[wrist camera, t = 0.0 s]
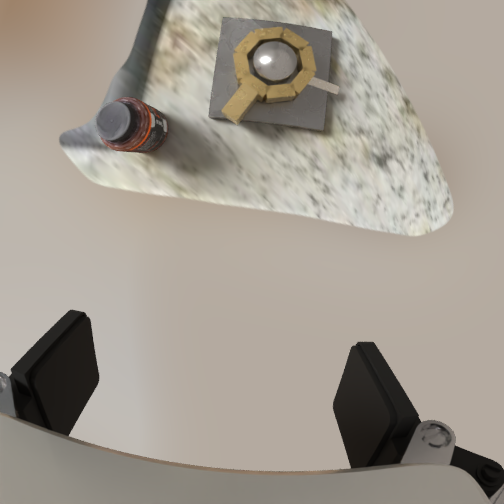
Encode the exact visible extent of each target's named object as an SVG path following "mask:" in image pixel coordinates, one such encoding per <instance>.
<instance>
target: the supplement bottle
mask: <svg viewBox="0 0 504 504" xmlns="http://www.w3.org/2000/svg"><path fill="white" fill-rule="evenodd" d="M95 128H96V131H97V133H98V135H99V136H100V137H101V140H102V141H103V142H104V144H105V145H106V146H107V147H109V148H111V149H113V150H116V151H123V152H138V153H147V152H152V151H154V150H156V149H157V148H159V147H160V146H161V145H162V144H163V142H164V141H165V139H166V137H167V134H168V123H167V120H166V118H165V117H164V115H163V114H162V113H161V112H160V111H158V110H157V109H155V108H153V107H151V106H149V105H147V104H146V103H144V102H142V101H140V100H138V99H135V98H132V97H123V98H119V99H116V100H115V101H113V102H110V103H107V104H106V105H104V106H103V107H102V108H101V109H100V110H99V112H98V114H97V116H96V119H95Z"/></svg>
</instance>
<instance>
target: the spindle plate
mask: <svg viewBox="0 0 504 504" xmlns="http://www.w3.org/2000/svg"><path fill="white" fill-rule="evenodd" d="M273 27H282V28H283V31H284V30H285V29H286V28H288V29H289V30H291V31H292V32H294V33H295V34H297V35H298V36H300V37H301V38H303V39H304V40H306V41H307V42H309V44H308V46H312V51H313V56H314V61H315V66H316V72H315V75H314V77H313V78H312V79H311V80H310V82H309V83H308V84H307V85H306V86H305V88H304V89H303V90H302V91H301V93H300V94H299V95H298V96H297V98H296V99H295V98H294V99H293V100H292V101H282V102H273V103H266V102H265V99H264V100H263V101H262V102H260V101H259V100H257V101H256V102H255V104H254V105H253V106H252V107H251V109H250V110H249V111H248V112H247V114H246V115H245V116H244V118H243V119H242V120H241V121H250V122H259V123H268V124H275V125H283V126H290V127H297V128H303V129H310V130H316V131H323V130H324V122H325V113H326V103H327V93H328V92H331V93H333V94H336V95H338V91H339V88H340V86H337V85H334V84H332V83H329V70H330V57H331V43H332V32H331V31H327V30H322V29H317V28H312V27H306V26H300V25H294V24H288V23H281V22H273V21H265V20H255V19H244V18H229V17H223V20H222V26H221V32H220V38H219V44H218V51H217V57H216V64H215V71H214V78H213V85H212V92H211V100H210V108H209V118H217V119H228V118H226V117H225V116H224V115H223V113H222V111H221V110H222V109H223V108H224V106H225V105H226V104H227V103H228V101H229V100H230V99H231V97H232V96H233V95H234V94H235V92H236V91H237V90H238V89H239V87H240V84H239V85H238V82H237V76H236V70H235V64H234V57H233V53H234V49H235V48H236V47H237V46H238V45H239V44H240V43H241V41H242V40H243V39H244V38H245V37H246V36H247V35H248V34H249V33H250V32H251V31H252V32H254V33H255V29H262V28H273ZM248 65H249V70H250V74H251V75H253V76H254V77H256V78H257V79H259V80H260V81H262V82H263V83H265V84H266V85H268V86H271V85H280V84H290V83H291V82H292V81H293V80H294V79H295V77H296V76H297V75H298V74H299V72H298V67H297V58H296V55H295V53H294V51H293V50H292V49H291V48H290V47H289V46H288V45H286V44H284V43H281V42H275V41H274V42H267V43H264V44H263V45H261V46H260V47H259V48H258V49H257V50H256V52H255V53H254V54H253V56H252V57H251V58H250V59H249V60H248Z"/></svg>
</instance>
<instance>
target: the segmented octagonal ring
mask: <svg viewBox="0 0 504 504" xmlns="http://www.w3.org/2000/svg"><path fill="white" fill-rule="evenodd" d="M274 41H275V42H281V43H284V44H286V45H288V46H289V47H290V48H291V49H292V50H293V51H294V53H295V55H296V58H297V67H298V72H299V74H298V75H297V76H296V77H295V79H294V80H293V81H292V82H291V83H290V84H280V85H271V86H268V85H266V84H265V83H263V82H262V81H260V80H259V79H257V78H256V77H254V76H253V75H251V74H250V70H249V65H248V60H249V59H250V58H251V57H252V56H253V54H254V53H255V52H256V50H257V49H258V48H259V47H260V46H261V45H263V44H264V43H267V42H274ZM308 44H309V42H307V41H306V40H304V39H303V38H301V37H300V36H298V35H297V34H295V33H294V32H292V31H291V30H289V29H288V28H286V29H285V30H284V31H283V28H282V27H273V28H262V29H255V33H254V32H252V31H251V32H250V33H249V34H248V35H247V36H246V37H245V38H244V39H243V40H242V41H241V43H240V44H239V45H238V46H237V47H236V48H235V49H234V53H233V57H234V64H235V70H236V76H237V82H238V85H239V84H240V87H239V89H238V90H237V91H236V92H235V94H234V95H233V96H232V97H231V99H230V100H229V101H228V103H227V104H226V105H225V106H224V108H223V109H222V110H221V111H222V113H223V115H224V116H225V117H226V118H228V119H229V120H231V121H232V122H233V123H235V124H236V125H238V124H239V123H240V121H241V120H242V119H243V118H244V116H245V115H246V114H247V112H248V111H249V110H250V109H251V107H252V106H253V105H254V104H255V102H256V101H257V100H259V101H260V102H262V101H263V100H264V99H265V102H266V103H273V102H282V101H292V100H293V99H294V98H295V99H296V98H297V96H298V95H299V94H300V93H301V91H302V90H303V89H304V88H305V86H306V85H307V84H308V83H309V82H310V80H311V79H312V78H313V77H314V75H315V72H316V66H315V61H314V56H313V51H312V46H308Z"/></svg>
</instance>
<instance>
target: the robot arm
mask: <svg viewBox="0 0 504 504" xmlns="http://www.w3.org/2000/svg"><path fill="white" fill-rule="evenodd" d="M11 372H12V374H11V375H10V376H9V377H8V376H7V375H6V374H4V373H3V372H0V504H504V469H503V468H502V466H501V465H500V464H498V463H497V462H495V461H493V460H491V459H488V458H486V457H483V456H480V455H478V454H475V453H472V452H470V451H467V450H465V449H462V448H460V447H458V446H455V441H456V437H455V434H454V432H453V431H452V429H451V428H450V427H449V426H447V425H446V424H444V423H442V422H439V421H435V420H427V421H423V422H421V421H420V419H419V417H418V416H419V415H418V413H417V412H416V410H415V408H414V406H413V405H412V403H411V401H410V400H409V398H408V396H407V395H406V393H405V391H404V390H403V388H402V386H401V385H400V383H399V382H398V380H397V379H396V377H395V375H394V373H393V372H392V370H391V369H390V367H389V365H388V364H387V362H386V360H385V359H384V357H383V356H382V354H381V353H380V351H379V349H378V348H377V346H376V345H375V343H374V342H358V343H357V344H356V346H352V347H351V350H350V353H349V356H348V359H347V363H346V366H345V369H344V373H343V375H342V378H341V381H340V384H339V387H338V390H337V393H336V396H335V399H334V402H333V410H334V413H335V417H336V420H337V423H338V426H339V430H340V433H341V436H342V439H343V442H344V446H345V449H346V453H347V456H348V459H349V463H350V466H351V469H339V470H322V471H295V472H294V471H287V472H286V471H285V472H283V471H276V472H275V471H249V470H234V469H220V468H211V467H203V466H195V465H188V464H181V463H175V462H169V461H163V460H157V459H152V458H147V457H142V456H138V455H133V454H129V453H124V452H121V451H117V450H113V449H109V448H105V447H101V446H98V445H95V444H91V443H88V442H84V441H81V440H78V439H75V438H72V437H69V434H70V432H71V430H72V429H73V427H74V425H75V423H76V421H77V420H78V418H79V416H80V414H81V412H82V411H83V409H84V407H85V406H86V404H87V402H88V400H89V398H90V397H91V395H92V393H93V392H94V390H95V388H96V387H97V385H98V382H99V372H98V366H97V361H96V355H95V349H94V342H93V336H92V328H91V321H90V318H89V317H87V315H86V313H84V312H80V311H75V310H70V311H68V312H67V313H66V314H65V315H64V316H63V317H62V318H61V319H60V320H59V321H58V322H57V323H56V324H55V325H54V326H53V327H52V328H51V329H50V330H49V331H48V332H47V333H45V334H44V336H43V337H42V338H40V339H39V341H37V342H36V344H35V345H34V346H33V347H32V348H31V349H30V350H29V351H28V352H27V353H26V354H25V355H24V356H23V357H22V358H21V359H20V360H19V361H18V362H17V363H16V364H15V365H14V366H13V367H12V368H11Z"/></svg>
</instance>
